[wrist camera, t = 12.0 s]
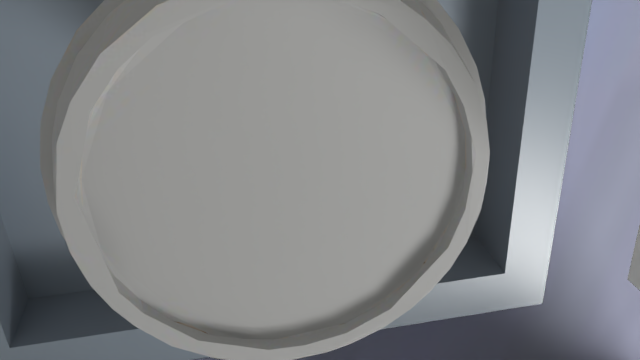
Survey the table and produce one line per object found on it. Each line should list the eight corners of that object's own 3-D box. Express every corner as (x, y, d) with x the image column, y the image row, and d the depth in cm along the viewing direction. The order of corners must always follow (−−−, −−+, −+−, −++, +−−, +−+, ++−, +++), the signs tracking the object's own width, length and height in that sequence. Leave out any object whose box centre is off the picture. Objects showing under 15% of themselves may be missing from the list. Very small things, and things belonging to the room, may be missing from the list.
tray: (576, -366, 20) (659, -416, 16) (502, 253, 31) (542, 303, 27) (-259, -375, 16) (-385, -442, 13) (-3, 327, 27) (-31, 395, 24)
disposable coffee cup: (134, -141, 19) (67, -151, 9) (403, -46, 22) (593, 31, 12) (84, 131, 23) (-5, 352, 12) (321, 182, 26) (411, 397, 15)
